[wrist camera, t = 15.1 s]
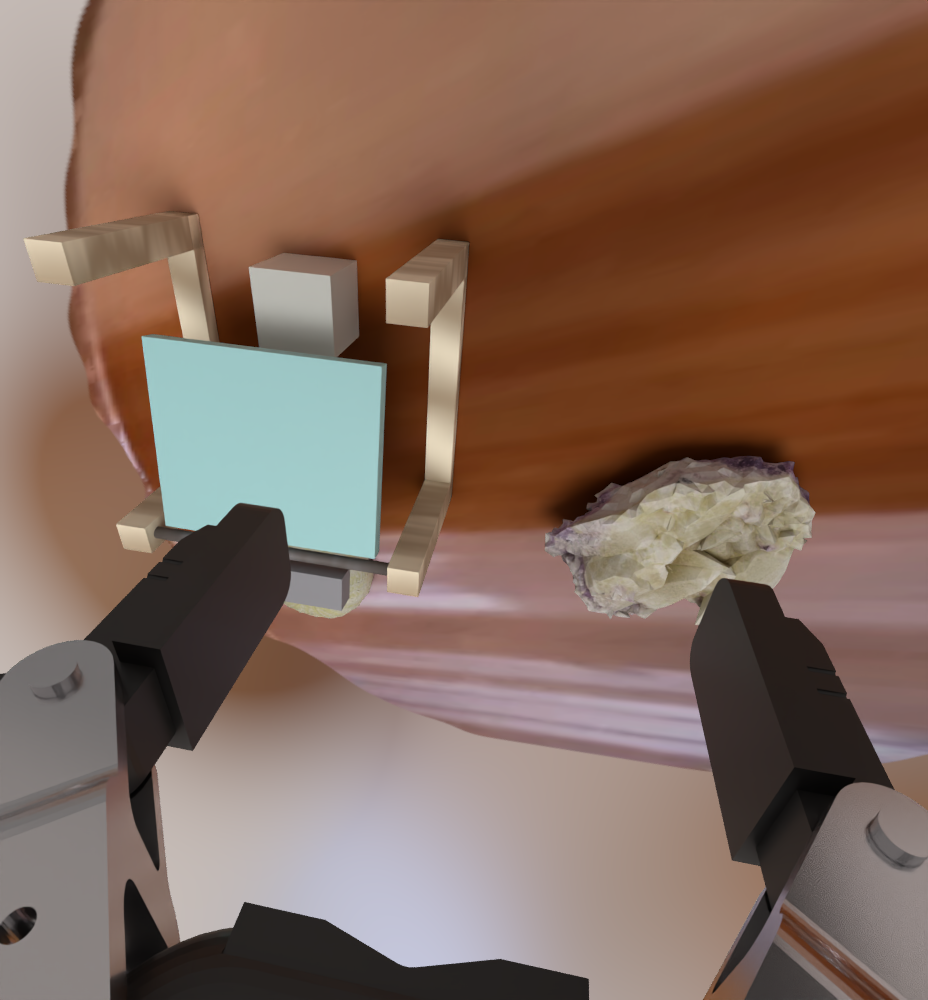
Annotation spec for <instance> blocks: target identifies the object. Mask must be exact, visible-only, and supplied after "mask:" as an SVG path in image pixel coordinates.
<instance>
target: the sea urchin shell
mask: <svg viewBox="0 0 928 1000" xmlns="http://www.w3.org/2000/svg"><path fill="white" fill-rule="evenodd" d="M288 547H291V548H297V549H304V550H310V551H316V552H322V553H329V554H335V555H341V556H347V557H354V558H360V559H366V560H369V558H365V557H359V556H353V555H346V554H340V553H334V552H328V551H321V550H315V549H309V548H302V547H296V546H290V545H288ZM373 575H374V574H373V573H368V572H362V571H356V570H350V598H349V599H348V601H347V603H346V604H345V606H344V608H343V609H342V611H339V610H333V609H327V608H321V607H315V606H309V605H303V604H297V603H291V602H284V604H286V605H287V606H288V607H290V608H294V609H295V610H297V611H299V612H300V613H301V612H303V613H306V614H309V615H313V616H315V617H325V618H336V617H341V616H344V615H345V614H347V613H348V612H350V611H351V610H353V609H355V608H357V606H359V605H360V603H361V601H362V600H363V599H364V598H365V596H366V595H367V594H368V593H369V589H370V586H371V583H372V579H373Z"/></svg>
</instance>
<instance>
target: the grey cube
mask: <svg viewBox="0 0 928 1000" xmlns="http://www.w3.org/2000/svg"><path fill="white" fill-rule="evenodd" d="M249 273H250V280H251V288H252V296H253V303H254V311H255V319H256V327H257V334H258V342H259V348H267V349H275V350H283V351H291V352H298V353H306V354H314V355H322V356H330V357H338V356H339V355H340V354H341V353H342V352H343V351H344V350H345V349H346V348H347V347H348V346H349V345H350V344H351V343H352V342H354V341H355V340H356V339H357V338H358V337H359V316H358V284H357V261H356V260H347V259H338V258H329V257H319V256H310V255H301V254H291V253H282V254H279V255H277V256H274V257H272V258H270V259H267V260H265V261H262V262H260V263H257V264H255V265H252V266H250V267H249Z"/></svg>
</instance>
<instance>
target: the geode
mask: <svg viewBox="0 0 928 1000" xmlns="http://www.w3.org/2000/svg"><path fill="white" fill-rule="evenodd" d="M793 467H794V462H789V461H787V462H781V463H776V464H775V463H769V462H764V461H763V460H762V458H761V457H755V456H738V457H733V458H725V457H723V458H719V459H714V460H699V461H697V460H693V459H691V458H688V457H687V458H683V459H682V460H680V461H672V462H668V463H667V464H665V465H663V466H661V467H659V468H658V469H656V470H654V471H652V472H650V473H649V474H647V475H645V476H643V477H641V478H639V479H637V480H635V481H633V482H629V483H627V484H626V485H624V486H621V485H618V484H615V483H611V484H609V485H608V486H607V487H606V488H605V489H604V490H602V491H601V492H599V493H597V494H596V495H594V496H596V497H597V502H595V503H588V504H587V508H586V509H587V510H589V511H590V512H587V513H585V515H584V516H580V517H577V518H576V519H575V520H574V521H571V520H566V519H563V524H562V525H561V526H560V527H559V528H554V529H553V531H552V532H549V533H546V537H545V551H546V552H547V553H549V554H550V555H552V556H553V557H555V556H558V555H561V556H562V560H563V561H564V562H565V563H566V564H567V565H568V566H569V568H570V572H572V575H573V583H574V584H575V591H574V592H575V593H576V594H578V595H579V596H580V598H581V599H582V601H583V602H584V603H585V604H586V606H587V609H588V611H592V612H598V613H606V614H607V615H608V616H609V618H610V619H611V618H612V615H615V616H618V617H627V618H630V616H629V614H631V615H633V614H636V615H638V616H640V617H642V618H644V619H645V618H646V617H648V616H649V615H650V614H652V613H653V612H654V611H656V610H657V609H658V608H662V607H666V606H669V605H671V604H674V603H676V602H678V601H680V600H682V599H684V598H685V599H686V600H688V601H689V602H692V603H696V604H697V605H698V606H699V607H700V610H699V613H698V616H697V619H696V623H695V625H699V624H700V622H701V619H702V617H703V614H704V612H705V610H706V607H707V605H708V602H709V600H710V597H711V595H712V593H713V590H714V588H715V586H716V584H717V582H718V581H719V580H720V579H721V578H728V579H734V580H741V581H747V582H754V583H760V584H767V585H769V586H770V587H771V588H772V589H773V588H774V587H775V586H776V584H777V583H778V582H779V581H780V579H781V577H782V576H783V574H784V572H785V571H786V568H787V565H788V563H789V560H790V557H791V554H792V552H793V550H794V548H795V549H798V550H802V546H803V545H804V544H805V543H806V542H807V540H805V539H804V538H811V537H812V535H811V527H812V519H813V517H814V515H815V511H814V510H813V509H812V508H811V506H810V505H809V492H807V491H806V490H804V489H803V488H801V487H800V486H799V482H798V478H797V477H796V478H795V476H794V473H793ZM628 613H629V614H628Z"/></svg>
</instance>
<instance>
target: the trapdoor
mask: <svg viewBox="0 0 928 1000" xmlns="http://www.w3.org/2000/svg"><path fill="white" fill-rule="evenodd" d="M142 343H143V351H144V359H145V367H146V375H147V382H148V390H149V398H150V406H151V414H152V422H153V430H154V438H155V446H156V453H157V461H158V469H159V477H160V485H161V493H162V501H163V509H164V516H165V524H166V526H171V527H177V528H183V529H189V530H196V531H197V530H199V529H200V528H202V527H204V526H206V525H214V526H216V525H217V524H218V523H219V522H220V521H221V520H222V519H223V518H224V517H225V516H226V515H227V513H228V512H229V511H230V510H231V509H232V508H233V507H234V506H235V505H236V504H238V503H247V504H253V505H260V506H266V507H273V508H279V509H280V510H281V511H282V512H283V515H284V519H285V526H286V534H287V542H288V545H290V546H296V547H302V548H309V549H315V550H321V551H328V552H334V553H340V554H346V555H353V556H359V557H365V558H372V559H375V557H376V556H377V554H378V552H379V539H380V515H381V491H382V466H383V442H384V418H385V394H386V369H387V364H386V363H378V362H370V361H362V360H354V359H346V358H338V357H330V356H322V355H314V354H306V353H298V352H291V351H283V350H275V349H267V348H259V347H251V346H243V345H235V344H227V343H219V342H211V341H203V340H195V339H187V338H179V337H171V336H163V335H155V334H151V335H146V336H142ZM290 567H291V582H290V587H289V591H288V595H287V597H286V600H285V602H291V603H297V604H303V605H309V606H315V607H321V608H327V609H333V610H339V611H342V609H343V608H344V606H345V604H346V603H347V601H348V599H349V598H350V570H349V569H343V568H337V567H331V566H325V565H319V564H312V563H306V562H300V561H294V560H290Z"/></svg>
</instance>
